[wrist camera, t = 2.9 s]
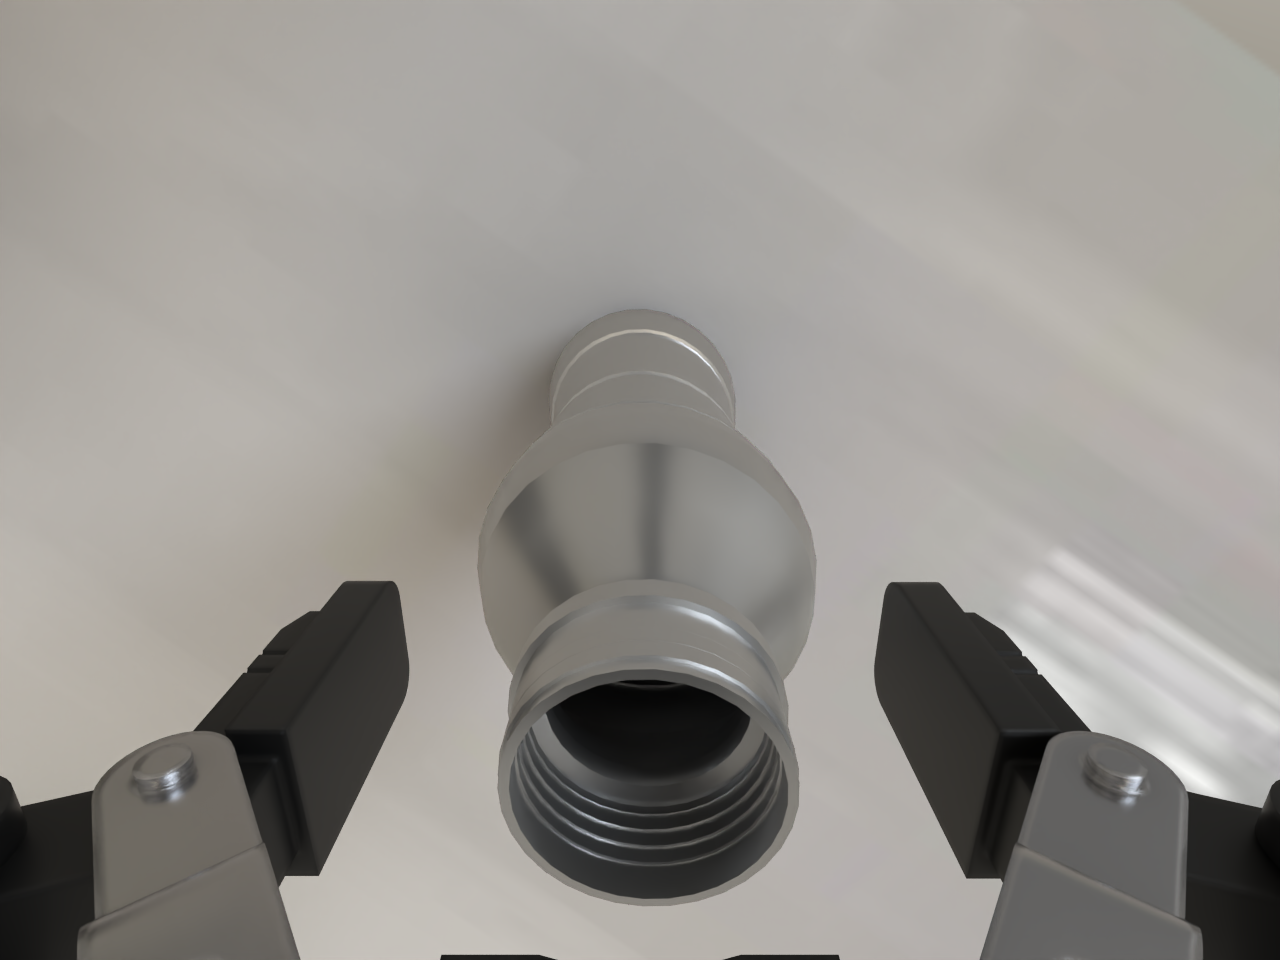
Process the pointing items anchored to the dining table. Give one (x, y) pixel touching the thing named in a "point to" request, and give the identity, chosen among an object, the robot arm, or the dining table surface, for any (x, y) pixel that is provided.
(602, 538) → the plastic bottle
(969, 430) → the dining table surface
